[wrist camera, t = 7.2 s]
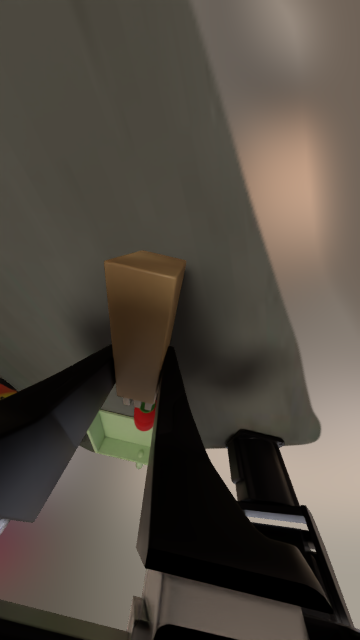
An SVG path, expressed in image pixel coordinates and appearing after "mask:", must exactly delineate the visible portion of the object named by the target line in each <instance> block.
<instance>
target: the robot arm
mask: <svg viewBox="0 0 360 640" xmlns="http://www.w3.org/2000/svg"><path fill="white" fill-rule="evenodd" d="M115 383H116V380H115V369H114V359H113V349H112V344H110V345H109V346H107V347H105V348H103V349H101V350H99V351H98V352H96V353H94V354H92V355H90V356H88V357H87V358H85V359H83V360H81V361H79V362H77V363H76V364H74V365H73V366H70V367H68V368H66V369H64V370H63V371H61V372H59V373H57V374H55V375H53V376H51V377H49V378H47V379H45V380H43V381H40V382H38V383H36V384H34V385H32V386H30V387H28V388H25V389H23V390H21V391H19V392H17V393H15V394H12V395H10V396H8V397H6V398H4V399H1V400H0V535H1V533H2V532H3V530H4V529H5V527H6V526H7V524H8V522H9V521H10V520H16V521H24V522H31V523H33V522H34V521H35V519H36V518H37V516H38V514H39V513H40V511H41V509H42V508H43V506H44V504H45V502H46V501H47V499H48V497H49V496H50V494H51V492H52V490H53V489H54V487H55V485H56V484H57V482H58V480H59V478H60V477H61V475H62V473H63V472H64V470H65V468H66V466H67V465H68V463H69V461H70V460H71V458H72V456H73V455H74V453H75V451H76V449H77V448H78V446H79V444H80V442H81V441H82V439H83V437H84V436H85V434H86V432H87V431H88V429H89V427H90V425H91V424H92V422H93V420H94V419H95V417H96V415H97V413H98V412H99V410H100V408H101V407H102V405H103V403H104V402H105V400H106V398H107V396H108V395H109V393H110V391H111V390H112V388H113V386H114V384H115ZM283 445H285V443H284V440H282V439H278V438H274V437H269V436H265V435H261V434H257V433H253V432H248V431H244V430H241V431H239V432H238V433H237V434H236V435H235V436H234V437H233V438H232V439H231V440H230V441H229V442H228V443H227V444H226V448H227V449H228V456H229V463H230V471H231V479H232V482H233V483H234V484H236V491H237V499H238V501H236V500H235V498H234V497H233V495H232V494H231V492H230V491H229V489H228V488H227V486H226V485H225V483H224V482H223V480H222V478H221V477H220V475H219V474H218V472H217V471H216V470H215V468H214V466H213V465H212V463H211V461H210V459H209V457H208V455H207V453H206V451H205V448H204V445H203V443H202V440H201V437H200V435H199V432H198V429H197V427H196V424H195V421H194V419H193V416H192V413H191V410H190V407H189V403H188V400H187V396H186V393H185V388H184V384H183V380H182V376H181V372H180V368H179V365H178V361H177V357H176V353H175V349H174V347H172V346H168V349H167V352H166V355H165V358H164V361H163V366H162V372H161V377H160V382H159V389H158V396H157V403H156V410H155V418H154V425H153V432H152V439H151V446H150V453H149V460H148V468H147V475H146V482H145V489H144V497H143V503H142V510H141V518H140V524H139V532H138V539H137V545H136V548H137V551H138V553H139V555H140V557H141V560H142V562H143V564H144V566H145V568H146V574H145V581H144V587H143V593H142V598H140V597H136V596H133V600H132V605H131V610H130V616H129V621H128V627H127V631H123V630H119V629H115V628H111V627H107V626H103V625H99V624H95V623H91V622H87V621H83V620H79V619H75V618H71V617H67V616H63V615H59V614H56V613H52V612H47V611H43V610H39V609H36V608H32V607H28V606H24V605H20V604H16V603H12V602H8V601H4V600H0V640H360V630H359V629H356V628H354V625H353V622H352V620H351V617H350V614H349V611H348V609H347V606H346V603H345V600H344V598H343V595H342V593H341V590H340V587H339V584H338V581H337V578H336V576H335V573H334V570H333V567H332V565H331V562H330V559H329V557H328V554H327V551H326V548H325V546H324V543H323V541H322V538H321V536H320V533H319V531H318V528H317V526H316V524H315V521H314V519H313V516H312V514H311V512H310V511H309V510H308V508H307V507H306V506H304V505H301V506H300V505H299V502H298V500H297V497H296V494H295V492H294V489H293V486H292V483H291V480H290V478H289V475H288V472H287V469H286V467H285V464H284V461H283V458H282V456H281V453H280V450H279V448H280V447H282V446H283ZM247 516H249V517H258V518H265V519H273V520H280V521H289V522H296V523H304V524H307V527H308V529H309V531H308V530H301V529H296V528H289V527H282V526H275V525H268V524H260V523H254V522H253V523H252V522H250V520H249V519H248V518H247ZM310 549H315V550H316V552H313V551H311V550H310Z"/></svg>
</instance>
